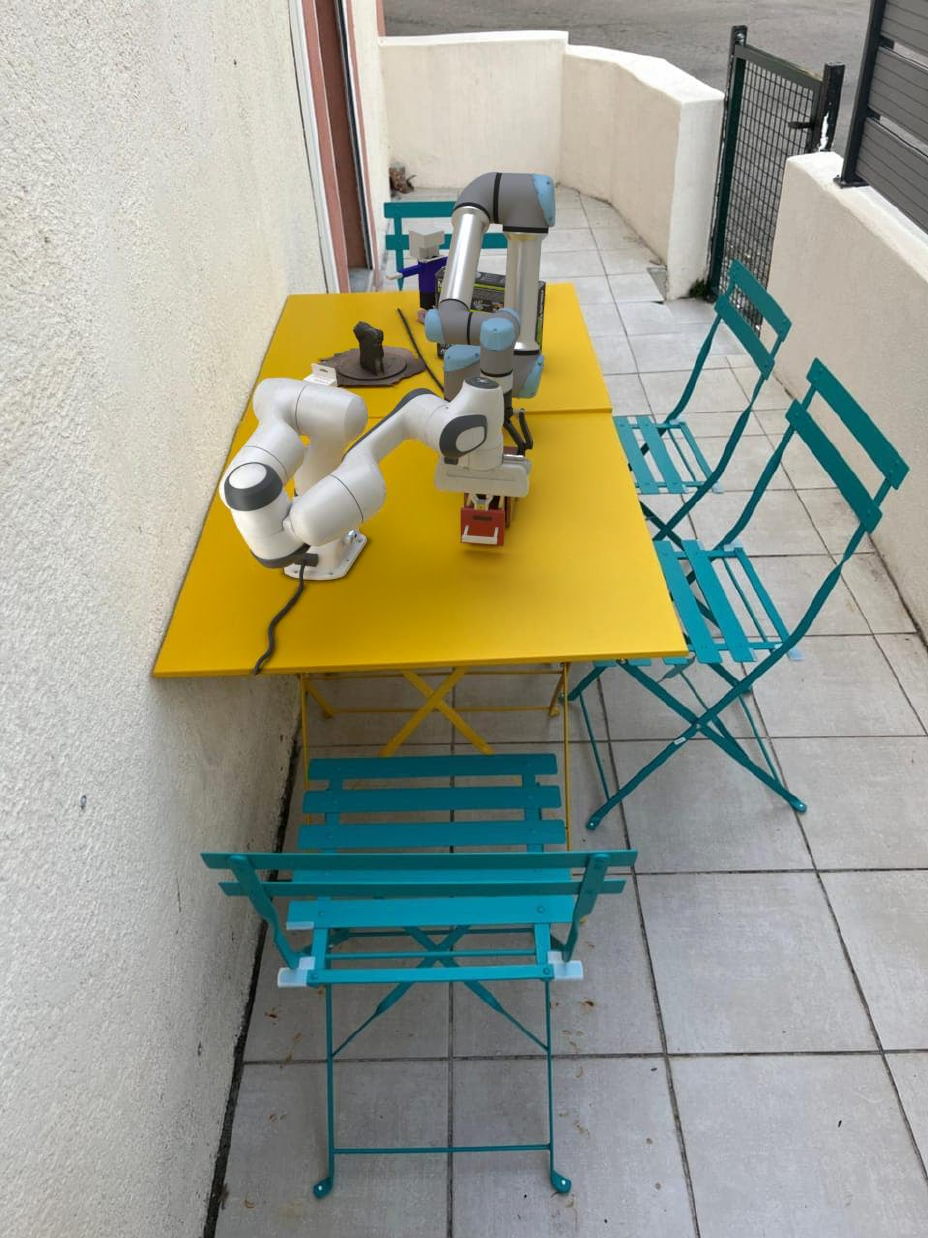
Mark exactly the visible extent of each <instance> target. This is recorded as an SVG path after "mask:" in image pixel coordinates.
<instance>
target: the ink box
mask: <svg viewBox="0 0 928 1238" xmlns="http://www.w3.org/2000/svg"><path fill="white" fill-rule="evenodd" d="M319 369H324V370H327V371H328V373H327V372H323V371H320V370H319ZM311 371H312V373H311V374H309V375H307V376H306V377H305V378H303V379H302V381H306V382H311V383H318V384H323V385H328V386H333V387H338V386H337V379H336V372H335V369H334V368H330V367H326V366H322V365H317V363H311Z"/></svg>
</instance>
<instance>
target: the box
mask: <svg viewBox="0 0 928 1238" xmlns="http://www.w3.org/2000/svg"><path fill="white" fill-rule="evenodd" d="M445 269H446V266H445V267H442V269H441V270H440V271H438V272H437V273H436V274H435V276H436V284H435V285H436V309H438V304H439V299H440V294H441V289H442V284H443V279H444V274H445ZM505 279H506V274H501V273H500V274H499V273H494V272H485V271H478V270H477V273H476V279H475V284H474V290H473V295H472V300H471V306H470V311H469V312H481V313H495V312H496V311H497V310H499V309H501V308H504V296H505ZM546 288H547V281H544V280H540V279H539V285H538V299H537V313H536V327H535V342H536V343H537V344H538V346H539V347H540V350H539V354H542V355H543V340H544V339H543V337H544V320H545V305H546V303H545V302H546ZM454 345H456V344H440V343H436V356H437V358H440V359H441V358H442V359H444V354H445V352H446V351H447V350H448V349H449V348H450V347H452V346H454Z"/></svg>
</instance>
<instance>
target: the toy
mask: <svg viewBox="0 0 928 1238" xmlns="http://www.w3.org/2000/svg"><path fill="white" fill-rule="evenodd" d="M445 240H446V239H445V230H444V229H442V228H439V227H437V226H434V225H431V224H430V223H429V224H425V225H421V226H417V227H413V228H410V229H408V246H409V247H408V248H409V256H410V257H412V258H414V259H416V261H417V264H415V265H411V266H408V267H404V268H401V269H398V270H397V271H395V272H391V273H388V274H385V275H384V276H385V279H386V280H388V281H395V280H399V279H402V280H403V279H406V278H409V277H413V276H416V275H417V279H418V280H417V281H418V282H417V283H418V293H419V298H418V299H419V308H421V309H420V310H417V312H416V313H417V321H418V322H421V323H422V324H424V325H425V317H426V314H427V312H428V310H430V309H436V285H435V284H436V276H435V274H436V273H437V272H438V271H440V270H441V269H442V268H443V267H446V264H447V259H448V255H447V256H445V254H440V246H441V245H444V244H445Z"/></svg>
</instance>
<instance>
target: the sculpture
mask: <svg viewBox="0 0 928 1238" xmlns="http://www.w3.org/2000/svg"><path fill="white" fill-rule="evenodd" d="M352 332H353V335H354V337H355V338H356V340H357V342H358V347H357V348H350V349H349V350H345V351H343V352H335V353H333V356H332V357H329V358H320V361H321V362H317V363H316V364H317V365H322V366H326V367H330V368H334V369H335V372H336V379H337V387H339V386H340V385H342V386H344V387H346V386H355V385H358V386H359V385H360V386H362V385H363V386H371V385H372V386H376V385H378V386H379V385H388V386H391V385H392V386H394V387H396V386H395V385H394V384H395V383H399V382H400V380H401V379H403V378H407V377H411V376H412V375H414V374H416V373H417V374H418V373H420V372H422V371H424V370H426V367H425V364H424V362H423V360H422V359H421V358H417V357H416V356H415V355H414V352H413V351H412V350H409V349H408V348H404V347H396V346H389V345H387V346H386V345H383V342H384V337H385V336H384V335H385V333H384V331H383V330H382V329H381V328H376V327H374V326H373V325H371V324H369V323H368V322H366V321H363V320H358V322H357V324H355V326H353V329H352ZM424 361H425V359H424ZM425 362H426V361H425ZM319 370H320V371H323V372H327V373H328V371H327V370H324V369H319ZM393 383H394V384H393Z"/></svg>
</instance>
